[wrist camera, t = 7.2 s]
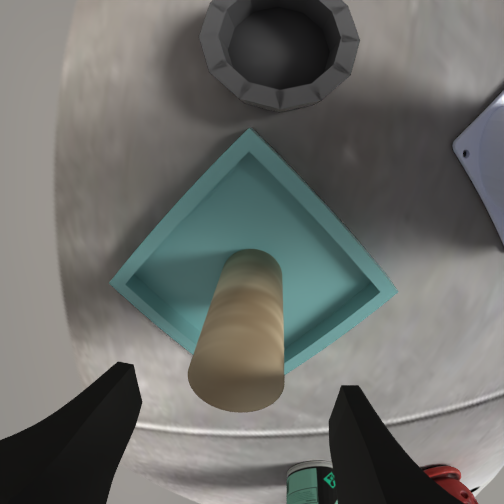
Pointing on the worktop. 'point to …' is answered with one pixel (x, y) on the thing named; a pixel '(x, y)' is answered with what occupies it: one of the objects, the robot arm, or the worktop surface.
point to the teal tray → (255, 237)
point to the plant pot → (451, 482)
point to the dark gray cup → (279, 49)
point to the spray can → (311, 483)
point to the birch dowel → (242, 336)
